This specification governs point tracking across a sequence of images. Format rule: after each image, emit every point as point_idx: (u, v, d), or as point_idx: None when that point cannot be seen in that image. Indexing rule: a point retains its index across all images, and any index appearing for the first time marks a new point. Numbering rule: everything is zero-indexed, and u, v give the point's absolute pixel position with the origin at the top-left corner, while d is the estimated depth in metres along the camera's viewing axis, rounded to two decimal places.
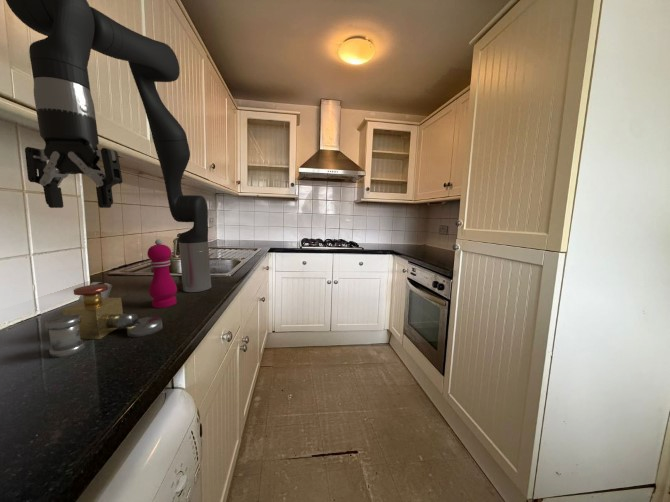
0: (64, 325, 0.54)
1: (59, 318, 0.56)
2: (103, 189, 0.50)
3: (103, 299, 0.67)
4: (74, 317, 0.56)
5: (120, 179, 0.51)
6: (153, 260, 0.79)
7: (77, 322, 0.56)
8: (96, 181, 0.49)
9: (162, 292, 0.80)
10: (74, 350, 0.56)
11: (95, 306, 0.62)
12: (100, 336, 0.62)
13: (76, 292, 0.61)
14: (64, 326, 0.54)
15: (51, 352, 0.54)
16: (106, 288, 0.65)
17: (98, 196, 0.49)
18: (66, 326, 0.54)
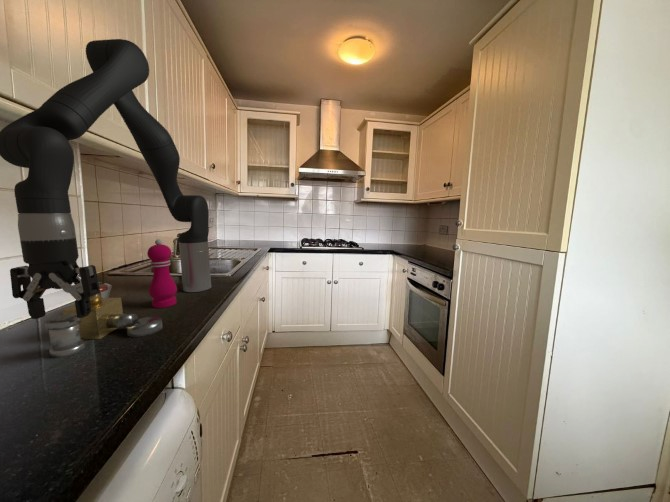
0: (64, 325, 0.54)
1: (59, 318, 0.56)
2: (82, 301, 0.54)
3: (103, 299, 0.67)
4: (74, 317, 0.56)
5: (97, 290, 0.56)
6: (153, 260, 0.79)
7: (77, 322, 0.56)
8: (74, 296, 0.54)
9: (162, 292, 0.80)
10: (74, 350, 0.56)
11: (95, 306, 0.62)
12: (100, 336, 0.62)
13: None
14: (64, 326, 0.54)
15: (51, 352, 0.54)
16: (106, 288, 0.65)
17: (77, 309, 0.54)
18: (66, 326, 0.54)
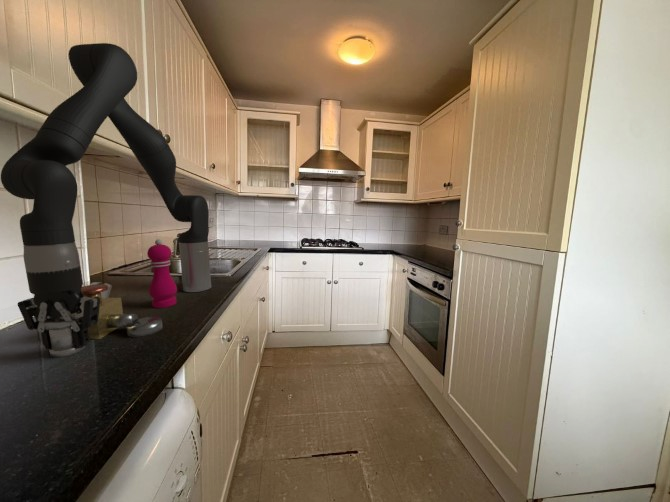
0: (64, 325, 0.54)
1: (59, 318, 0.56)
2: (80, 332, 0.56)
3: (103, 299, 0.67)
4: None
5: (96, 321, 0.57)
6: (153, 260, 0.79)
7: None
8: (73, 327, 0.55)
9: (162, 292, 0.80)
10: (74, 350, 0.56)
11: None
12: (100, 336, 0.62)
13: None
14: (64, 326, 0.54)
15: (51, 352, 0.54)
16: (106, 288, 0.65)
17: (75, 339, 0.55)
18: (66, 326, 0.54)
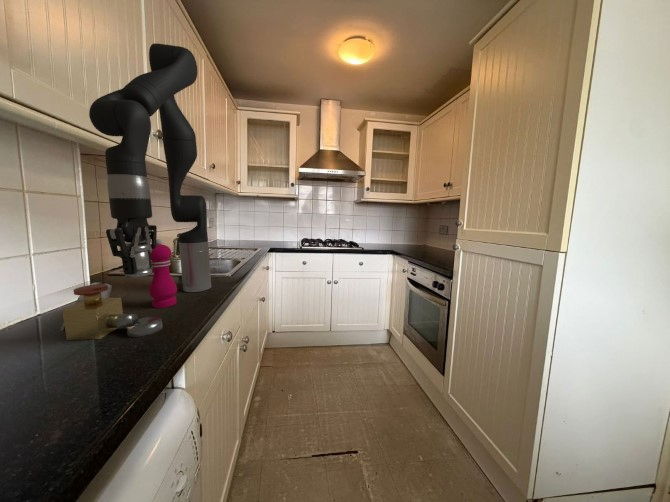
0: None
1: None
2: None
3: (103, 299, 0.67)
4: None
5: (122, 254, 0.57)
6: (153, 260, 0.79)
7: (128, 250, 0.60)
8: None
9: (162, 292, 0.80)
10: None
11: (95, 306, 0.62)
12: (100, 336, 0.62)
13: (76, 292, 0.61)
14: None
15: None
16: (106, 288, 0.65)
17: None
18: None
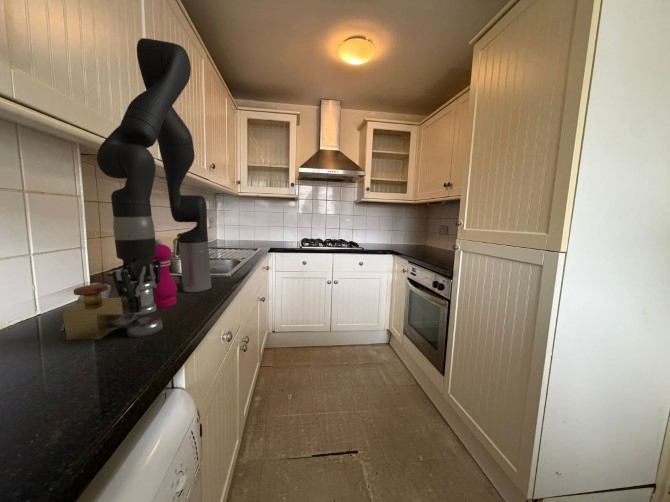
0: None
1: None
2: None
3: (103, 299, 0.67)
4: None
5: (127, 294, 0.59)
6: None
7: (133, 289, 0.62)
8: None
9: (162, 292, 0.80)
10: None
11: (95, 306, 0.62)
12: (100, 336, 0.62)
13: (76, 292, 0.61)
14: None
15: None
16: (106, 288, 0.65)
17: None
18: None
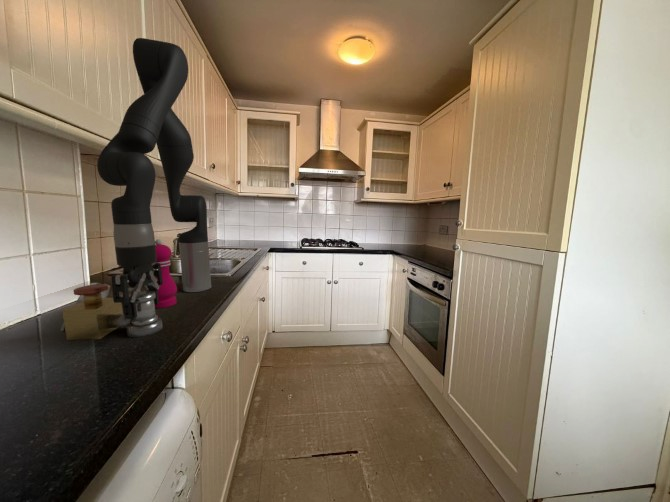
0: None
1: (143, 293, 0.65)
2: None
3: (103, 299, 0.67)
4: (140, 296, 0.63)
5: (123, 299, 0.58)
6: None
7: (135, 301, 0.62)
8: None
9: (162, 292, 0.80)
10: (133, 323, 0.63)
11: (95, 306, 0.62)
12: (100, 336, 0.62)
13: (76, 292, 0.61)
14: None
15: None
16: (106, 288, 0.65)
17: None
18: None
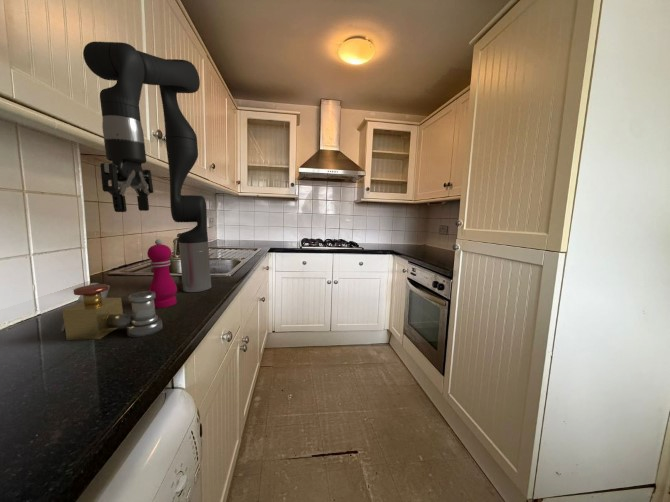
0: None
1: (143, 293, 0.65)
2: None
3: (103, 299, 0.67)
4: (140, 296, 0.63)
5: (112, 188, 0.59)
6: (153, 260, 0.79)
7: (135, 301, 0.62)
8: None
9: (162, 292, 0.80)
10: (133, 323, 0.63)
11: (95, 306, 0.62)
12: (100, 336, 0.62)
13: (76, 292, 0.61)
14: (129, 300, 0.63)
15: None
16: (106, 288, 0.65)
17: None
18: (129, 301, 0.63)
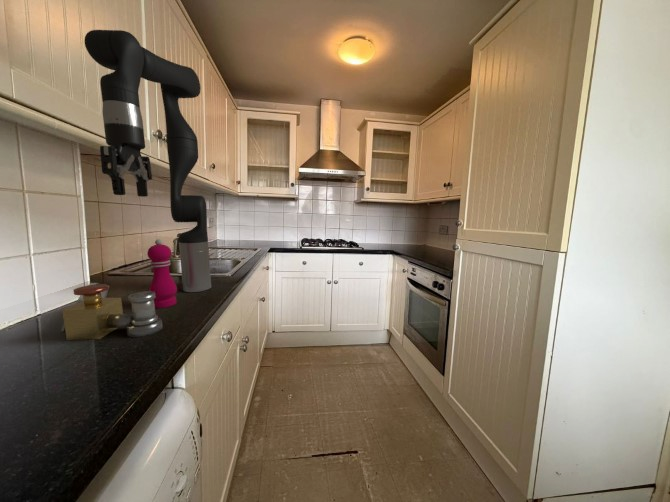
0: None
1: (143, 293, 0.65)
2: None
3: (103, 299, 0.67)
4: (140, 296, 0.63)
5: (111, 170, 0.60)
6: (153, 260, 0.79)
7: (135, 301, 0.62)
8: None
9: (162, 292, 0.80)
10: (133, 323, 0.63)
11: (95, 306, 0.62)
12: (100, 336, 0.62)
13: (76, 292, 0.61)
14: (129, 300, 0.63)
15: None
16: (106, 288, 0.65)
17: None
18: (129, 301, 0.63)
